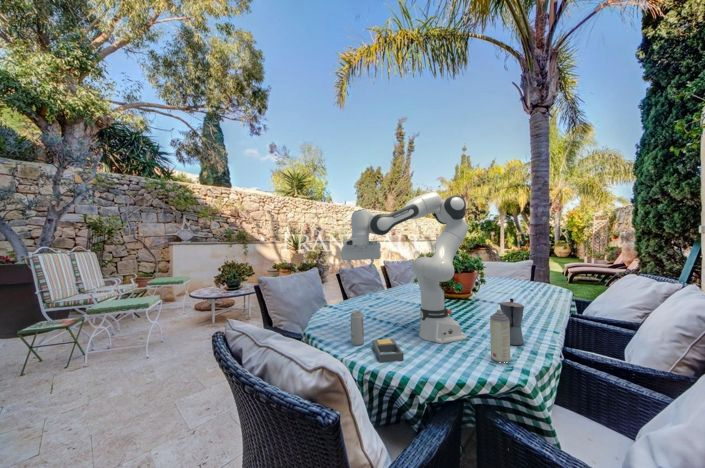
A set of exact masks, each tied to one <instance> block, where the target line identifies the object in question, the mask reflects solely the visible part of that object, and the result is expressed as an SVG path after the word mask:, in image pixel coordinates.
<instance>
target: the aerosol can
mask: <svg viewBox="0 0 705 468" xmlns="http://www.w3.org/2000/svg"><path fill="white" fill-rule="evenodd" d="M489 325H490V326H489V329H490V358H491V360H492V361H493V360H494V361H493V362H495V361H496V362H495V363H497V362H501V363H500V364H502V363H504V362H505V363H506V362H510V363H511V344H510V324H509V318H508V317H506V315H505V314H504V313H503V312H502V310H501V308H497V309H496V311H495V312H494V313H493V314H492V315H490V318H489Z"/></svg>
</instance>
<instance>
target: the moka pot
mask: <svg viewBox="0 0 705 468" xmlns="http://www.w3.org/2000/svg"><path fill="white" fill-rule="evenodd" d="M499 306H500V307H499V309H501V310H502V312H503V313H504V314H505V315H506V317H508V318H509V324H510V346H511V345H512V346H522V345H524V336H523V331H522V322H523V317H524V309H525V306H524V305H523V304H521V303H519V302H514V298H512V297H510V298H509V301H504V302H503V301H502V302H500V303H499Z"/></svg>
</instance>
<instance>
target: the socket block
mask: <svg viewBox="0 0 705 468" xmlns="http://www.w3.org/2000/svg"><path fill="white" fill-rule="evenodd" d="M371 342H372V348H373V350H374V353H375V355H376V357H377V359H378V363H389V362H390V363H391V362H402V361H404V352H403V351H402V349H401V347H400V346H399V345H398V343H397V342H396V340H395V339H394V338H384V339H383V338H382V339H373V340H372V341H371ZM388 352H389V353H388ZM390 352H391V353H390Z"/></svg>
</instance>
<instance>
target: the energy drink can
mask: <svg viewBox="0 0 705 468" xmlns="http://www.w3.org/2000/svg"><path fill="white" fill-rule="evenodd" d="M349 317H350V342H351V344H352V346H356V347H359V346H362V345H363V343H364V342H365V334H364V333H365V332H364V328H365V327H364V314H363V311H362V310H352V311H351V314H350V316H349Z"/></svg>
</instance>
